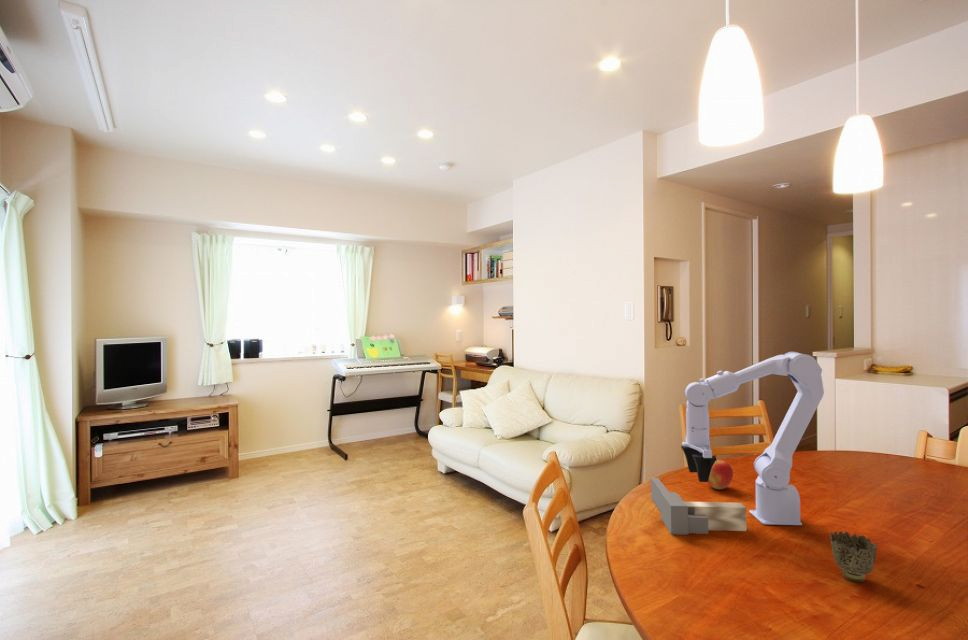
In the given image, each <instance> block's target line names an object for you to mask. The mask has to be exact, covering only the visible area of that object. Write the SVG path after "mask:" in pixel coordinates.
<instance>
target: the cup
mask: <svg viewBox="0 0 968 640" xmlns="http://www.w3.org/2000/svg"><path fill="white" fill-rule="evenodd" d="M829 537H830V542H831V543H830V546H831V551H832V555H833V559H834V561H835V563H836V565H837V566H838V567H839V568H840V569H841V574H842V576H843V578H845V579H847V580H849V581H850V582H855V583H861V582H864V581H865V579H866V575H869V574H870V573H871V572H872V571H873V570H874V567H875V561H876V555H877V548H878V545H877V542H874V543H871V539H870V538H869V537H868V538H867V537H866V536H865V535H863V534H861V535H859V536H858V535H857V534H856V532H854V533H853V534H852V535H851V534H850V533H849V531H845V532H843V531H842V530H841V531H839V532H837V531H834V533H832V532H830V533H829Z"/></svg>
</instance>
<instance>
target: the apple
mask: <svg viewBox="0 0 968 640" xmlns="http://www.w3.org/2000/svg"><path fill="white" fill-rule="evenodd" d="M713 456H715V457H716V458H717V456H716V455H715V454H714V455H713ZM733 476H734V471H733V468H732V467H731V465H730V464H729V463H728V462H727V460H723V459H716V461H715V463H714V464H713V466H712V469H711V472H710V476H709V480H708V482H706V483H707V484H708V485H709V486H710V487H711V488H713V489H715V490H725V489H726V488H728V486H729V485H730V484H731V483H732V480H733Z"/></svg>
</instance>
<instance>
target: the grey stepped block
mask: <svg viewBox="0 0 968 640" xmlns="http://www.w3.org/2000/svg"><path fill="white" fill-rule="evenodd" d="M650 498H651V501H652V502H653V503H654V504H655V506H656V508H657V509H658V510H659V512H660V519H661V521H662V523H663V524H664V526H665V527H666V528H667V530H668V532H669V533H670V534H671V535H679V536H680V535H684V536H685V535H686V536H688V535H689V534H692V533H693V534H695V533H696V534H698V535H699V534H701V535H702V534H703V535H709V530H708V517H707V516H706V515H688V506H687V505H686V503H685V502H686V501H684V500H683V499H682V497H681V496H680V495H679V494H678V493H677V492H673V491H672V492H671V491H669V490H668V489H667V488H666V486H665V485H664V484H663V482H661V480H660V479H659V477H650Z"/></svg>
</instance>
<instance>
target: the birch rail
mask: <svg viewBox="0 0 968 640" xmlns="http://www.w3.org/2000/svg"><path fill="white" fill-rule="evenodd" d="M684 502H685V503H686V505H687V506H688V515H706V516H707V517H708V531H724V530H725V532H726V531H729V532H730V531H731V532H732V531H734V532H748V531H747V507H746V506H745V505H744V504H743V503H742V502H732V501H731V502H725V501H723V502H718V501H684Z"/></svg>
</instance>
